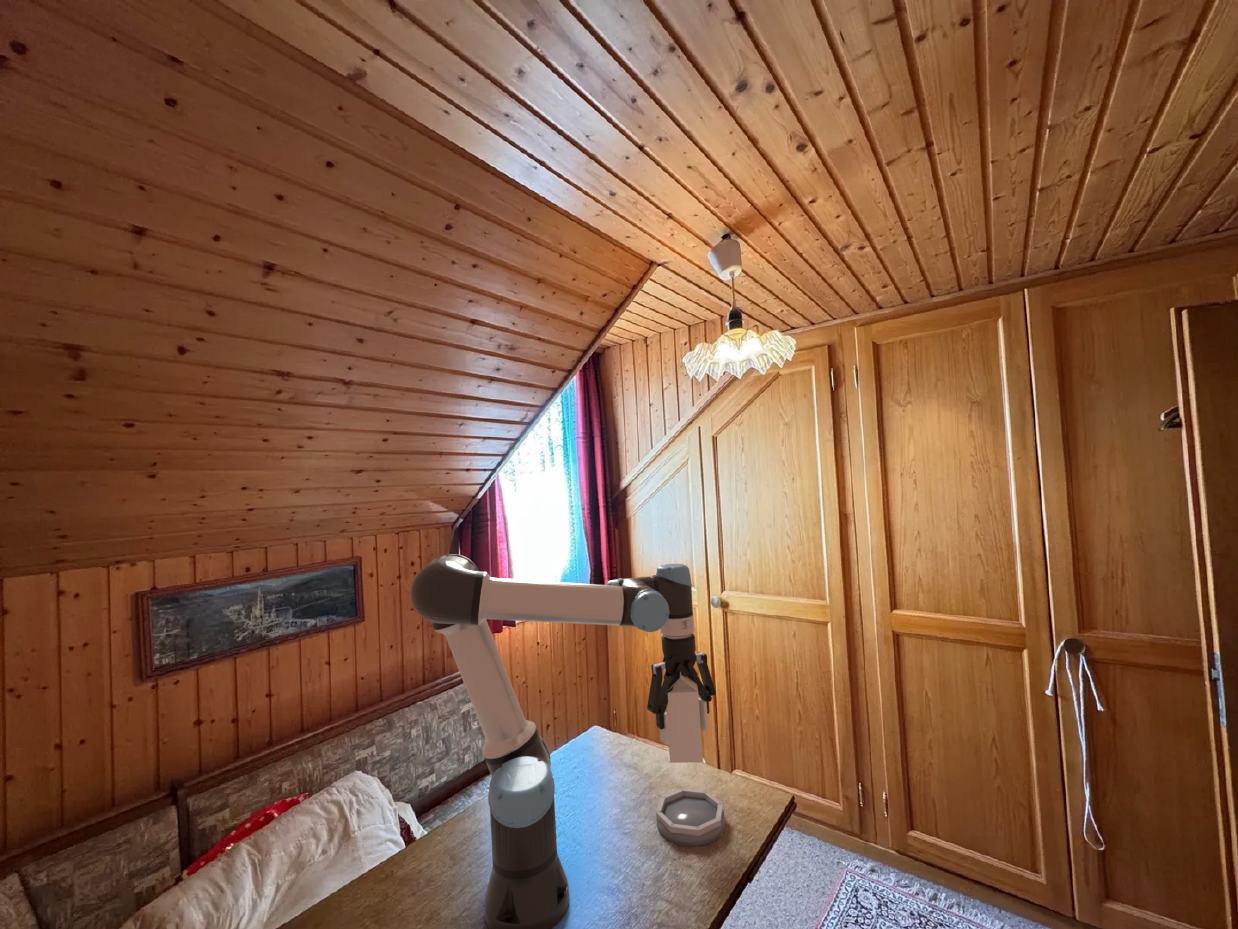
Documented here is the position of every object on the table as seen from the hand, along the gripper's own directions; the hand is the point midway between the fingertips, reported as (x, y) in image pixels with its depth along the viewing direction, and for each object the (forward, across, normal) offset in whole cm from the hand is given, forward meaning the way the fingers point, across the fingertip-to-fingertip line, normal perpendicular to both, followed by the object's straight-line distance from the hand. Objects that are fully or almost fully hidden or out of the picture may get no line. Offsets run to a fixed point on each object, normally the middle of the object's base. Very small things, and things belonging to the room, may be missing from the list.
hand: (684, 735), depth 114 cm
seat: (+19, 0, 0) cm, 19 cm away
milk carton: (+4, 0, 0) cm, 4 cm away
